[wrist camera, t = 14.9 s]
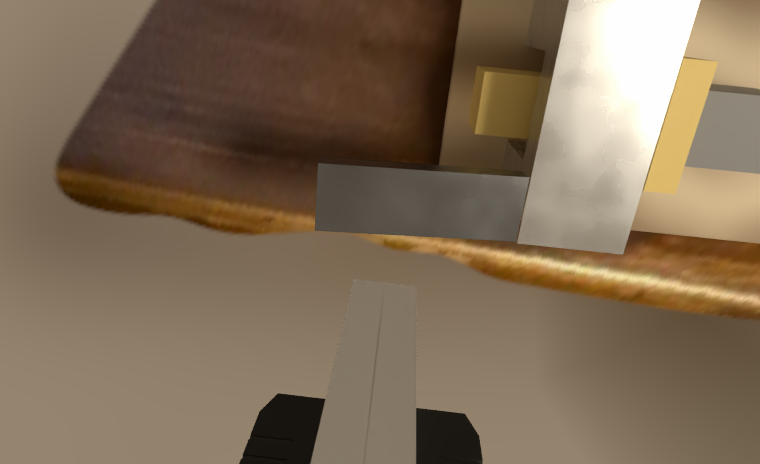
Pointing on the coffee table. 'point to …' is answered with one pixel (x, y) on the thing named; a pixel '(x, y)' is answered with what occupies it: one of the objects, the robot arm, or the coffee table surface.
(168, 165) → the coffee table surface
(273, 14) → the coffee table surface
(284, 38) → the coffee table surface
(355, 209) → the plate
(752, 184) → the base board
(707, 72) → the grey block yellow flange
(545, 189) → the block
